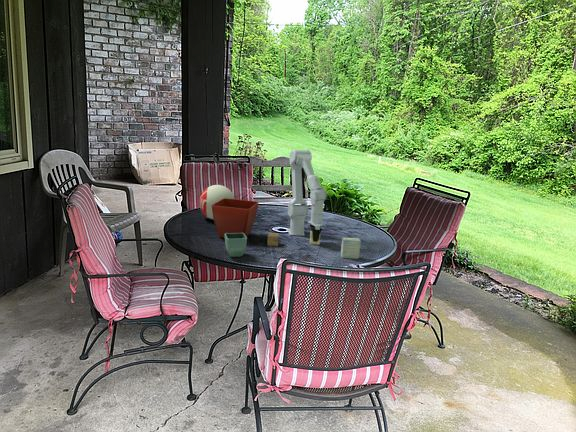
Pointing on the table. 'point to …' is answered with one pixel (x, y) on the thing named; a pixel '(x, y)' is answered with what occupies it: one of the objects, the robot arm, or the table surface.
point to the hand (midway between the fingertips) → (314, 240)
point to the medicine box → (350, 248)
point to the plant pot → (234, 216)
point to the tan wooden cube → (272, 239)
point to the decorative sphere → (213, 198)
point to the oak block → (312, 239)
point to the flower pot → (235, 243)
